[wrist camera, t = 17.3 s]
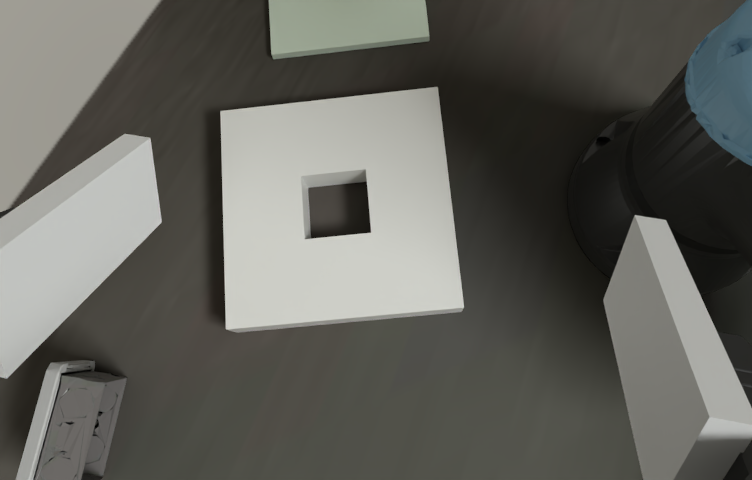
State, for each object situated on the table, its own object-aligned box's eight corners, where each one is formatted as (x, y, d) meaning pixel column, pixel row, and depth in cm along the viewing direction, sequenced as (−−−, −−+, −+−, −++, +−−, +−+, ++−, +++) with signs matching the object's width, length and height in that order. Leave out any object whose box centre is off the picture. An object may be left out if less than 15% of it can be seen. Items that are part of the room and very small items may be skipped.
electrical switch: (87, 358, 48) (22, 357, 39) (149, 369, 48) (99, 370, 39) (55, 479, 46) (-21, 507, 37) (120, 490, 46) (60, 521, 37)
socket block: (436, 103, 51) (437, 86, 48) (461, 311, 46) (463, 307, 44) (231, 126, 52) (220, 111, 49) (237, 332, 47) (225, 329, 44)
